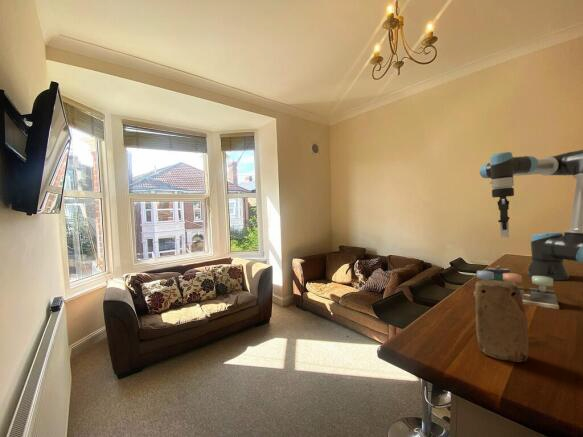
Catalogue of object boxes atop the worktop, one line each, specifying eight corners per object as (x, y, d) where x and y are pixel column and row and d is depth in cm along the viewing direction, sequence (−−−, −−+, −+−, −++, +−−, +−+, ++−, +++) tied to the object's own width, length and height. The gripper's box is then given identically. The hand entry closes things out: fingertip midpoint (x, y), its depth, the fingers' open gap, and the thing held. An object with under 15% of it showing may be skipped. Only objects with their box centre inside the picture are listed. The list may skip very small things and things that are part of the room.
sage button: (539, 289, 103) (539, 275, 103) (557, 294, 97) (557, 278, 97) (528, 291, 102) (527, 276, 102) (545, 296, 96) (545, 280, 96)
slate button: (484, 282, 115) (484, 270, 115) (497, 286, 109) (497, 273, 109) (473, 284, 114) (473, 271, 114) (486, 288, 108) (486, 274, 108)
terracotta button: (510, 285, 109) (510, 272, 109) (526, 290, 103) (525, 275, 103) (499, 287, 108) (499, 273, 108) (514, 291, 102) (514, 277, 102)
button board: (473, 296, 111) (473, 286, 111) (476, 290, 118) (475, 280, 118) (559, 309, 93) (558, 297, 93) (555, 301, 101) (555, 289, 101)
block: (475, 353, 69) (472, 282, 69) (478, 342, 75) (476, 276, 74) (529, 368, 62) (527, 289, 62) (528, 354, 68) (526, 281, 67)
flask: (509, 286, 120) (508, 264, 120) (512, 288, 117) (511, 266, 117) (486, 285, 123) (485, 264, 123) (488, 287, 121) (487, 265, 120)
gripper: (492, 189, 123) (494, 231, 124) (490, 188, 104) (493, 239, 105) (512, 187, 119) (514, 231, 119) (514, 186, 100) (517, 239, 100)
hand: (504, 235), depth 112 cm, fingers open, 13 cm apart
